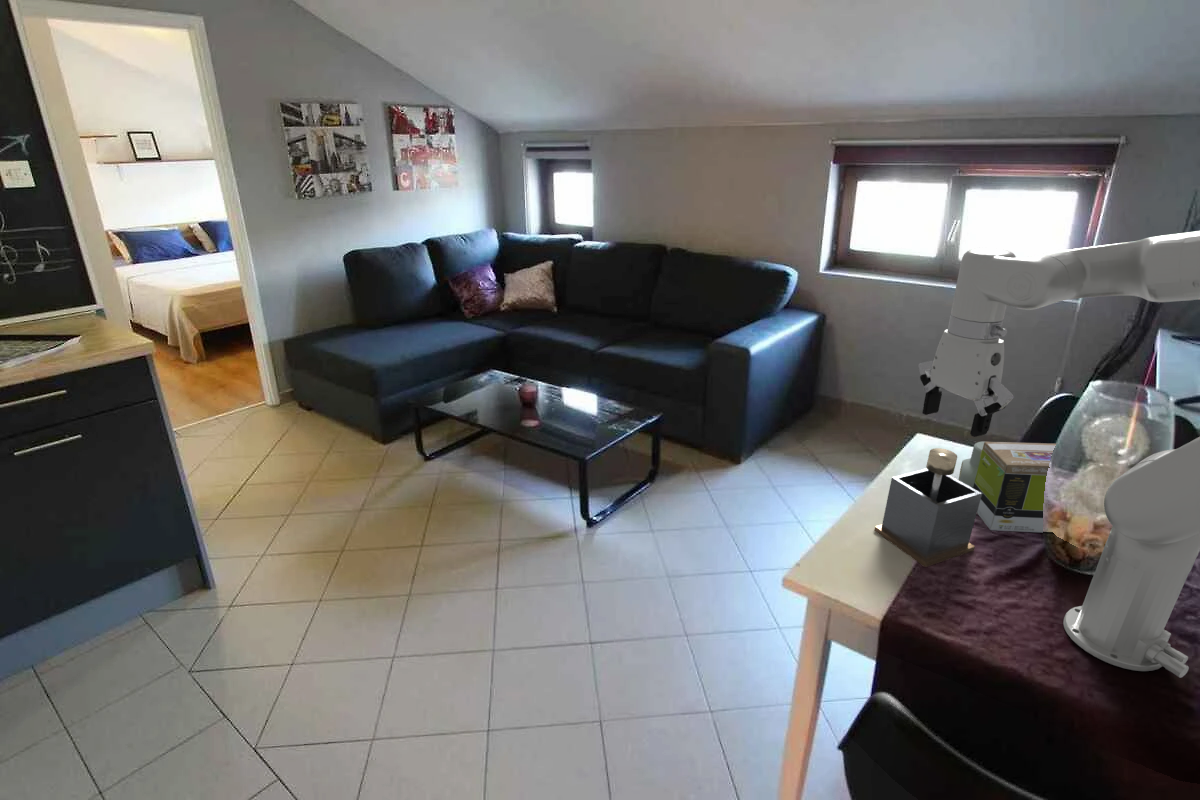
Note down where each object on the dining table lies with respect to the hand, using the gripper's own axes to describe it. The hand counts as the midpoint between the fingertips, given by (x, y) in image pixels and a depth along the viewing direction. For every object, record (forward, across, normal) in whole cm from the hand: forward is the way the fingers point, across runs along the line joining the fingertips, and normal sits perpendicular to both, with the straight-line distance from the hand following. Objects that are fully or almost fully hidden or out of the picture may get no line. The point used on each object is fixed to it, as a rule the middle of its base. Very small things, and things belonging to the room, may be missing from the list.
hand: (953, 423), depth 112 cm
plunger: (+23, +1, 0) cm, 23 cm away
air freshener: (+25, +10, -26) cm, 37 cm away
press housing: (+24, +1, 0) cm, 24 cm away
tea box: (+25, -1, -23) cm, 34 cm away
